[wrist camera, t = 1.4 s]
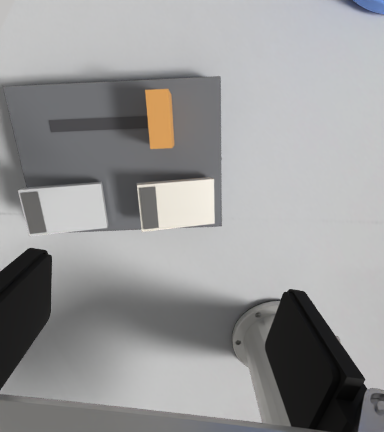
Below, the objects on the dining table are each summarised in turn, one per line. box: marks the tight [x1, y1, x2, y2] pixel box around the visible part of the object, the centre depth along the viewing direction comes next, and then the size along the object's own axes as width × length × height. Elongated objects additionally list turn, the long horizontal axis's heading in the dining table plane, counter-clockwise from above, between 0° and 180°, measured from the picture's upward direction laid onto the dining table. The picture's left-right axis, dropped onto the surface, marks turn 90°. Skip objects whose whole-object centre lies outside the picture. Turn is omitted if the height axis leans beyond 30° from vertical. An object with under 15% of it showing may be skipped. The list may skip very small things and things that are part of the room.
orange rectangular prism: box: [145, 89, 174, 149], centre depth 26 cm, size 2×5×4 cm, turn 3°
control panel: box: [3, 76, 222, 233], centre depth 30 cm, size 22×16×4 cm
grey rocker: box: [18, 182, 108, 236], centre depth 29 cm, size 8×5×1 cm, turn 92°
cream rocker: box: [137, 177, 215, 232], centre depth 29 cm, size 8×5×1 cm, turn 92°
